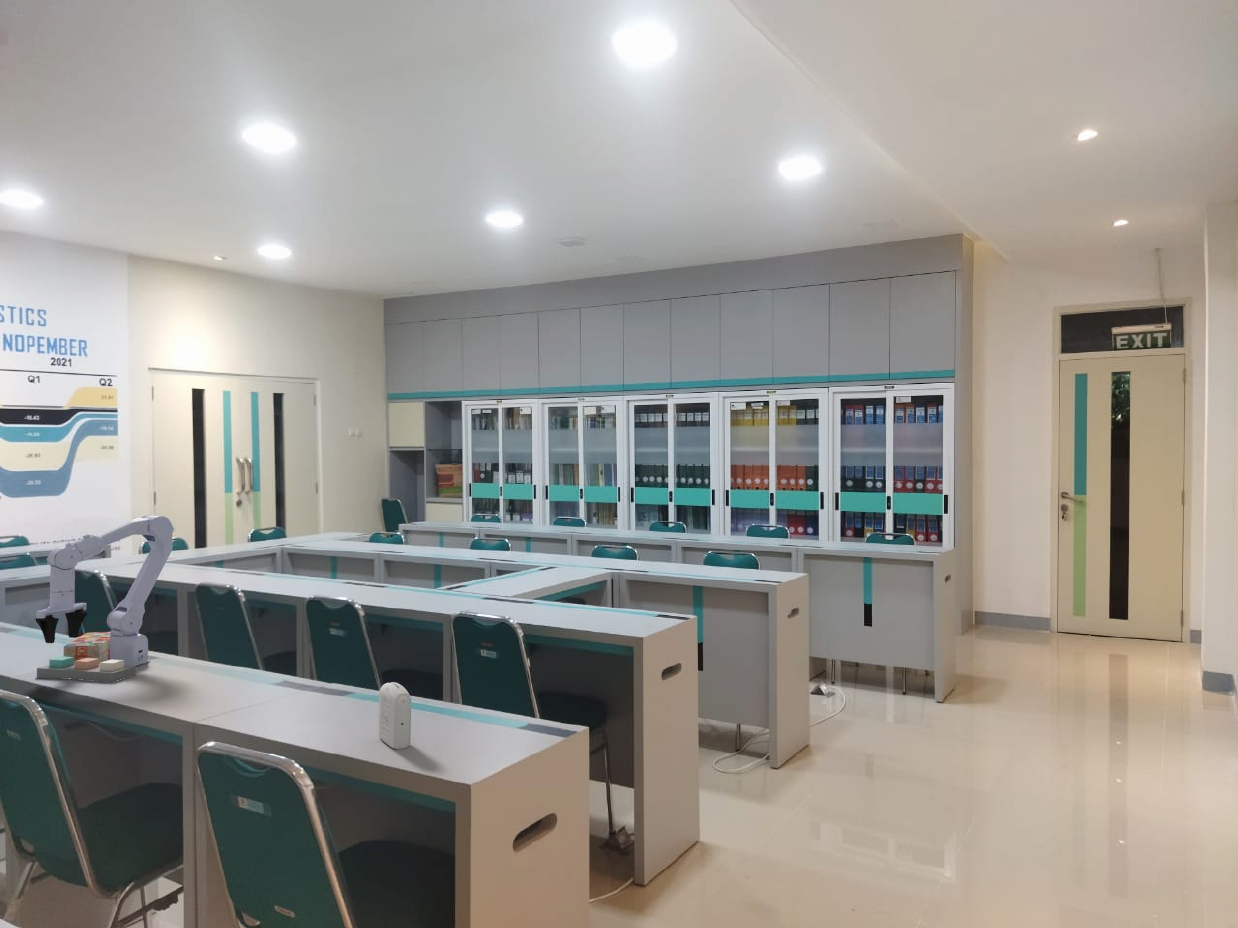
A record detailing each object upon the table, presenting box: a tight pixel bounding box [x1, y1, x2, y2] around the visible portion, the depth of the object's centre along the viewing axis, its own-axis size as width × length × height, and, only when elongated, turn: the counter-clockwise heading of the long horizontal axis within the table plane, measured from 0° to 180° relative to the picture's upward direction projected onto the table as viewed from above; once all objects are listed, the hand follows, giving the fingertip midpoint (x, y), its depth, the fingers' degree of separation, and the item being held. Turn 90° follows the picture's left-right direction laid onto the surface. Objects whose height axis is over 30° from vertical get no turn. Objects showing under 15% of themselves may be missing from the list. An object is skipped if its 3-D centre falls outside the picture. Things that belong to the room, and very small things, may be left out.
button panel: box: [36, 662, 137, 683], centre depth 231 cm, size 24×8×2 cm, turn 79°
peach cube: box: [74, 658, 99, 669], centre depth 231 cm, size 4×4×4 cm
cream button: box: [100, 659, 124, 671], centre depth 229 cm, size 4×4×4 cm
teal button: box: [48, 655, 74, 668], centre depth 232 cm, size 4×4×4 cm
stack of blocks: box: [63, 631, 111, 664], centre depth 252 cm, size 21×6×12 cm
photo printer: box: [378, 682, 412, 750], centre depth 178 cm, size 10×4×12 cm, turn 35°
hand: (61, 640), depth 233 cm, fingers open, 7 cm apart
